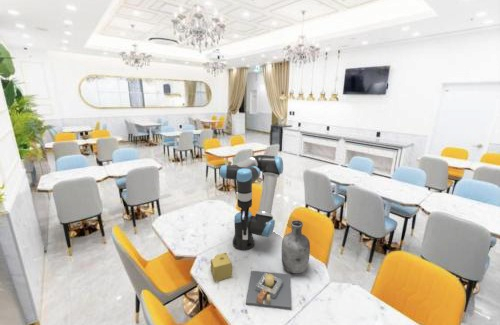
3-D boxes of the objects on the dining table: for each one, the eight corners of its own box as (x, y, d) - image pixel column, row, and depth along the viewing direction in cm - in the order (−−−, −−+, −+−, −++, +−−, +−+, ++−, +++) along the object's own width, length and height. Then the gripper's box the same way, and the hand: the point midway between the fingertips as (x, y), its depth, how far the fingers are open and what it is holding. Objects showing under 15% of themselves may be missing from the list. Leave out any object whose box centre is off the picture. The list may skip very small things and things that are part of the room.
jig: (251, 272, 135) (251, 261, 133) (289, 276, 132) (290, 264, 130) (245, 304, 114) (245, 291, 112) (291, 309, 111) (291, 296, 109)
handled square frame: (264, 276, 130) (264, 272, 129) (283, 283, 124) (283, 279, 124) (249, 298, 116) (249, 294, 115) (269, 307, 110) (269, 303, 110)
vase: (275, 267, 139) (276, 222, 131) (292, 255, 149) (294, 213, 141) (296, 282, 128) (299, 234, 120) (313, 269, 137) (317, 223, 130)
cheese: (210, 270, 137) (209, 255, 135) (228, 265, 141) (227, 251, 138) (214, 283, 128) (213, 267, 125) (233, 277, 132) (232, 262, 129)
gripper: (239, 193, 126) (240, 231, 133) (235, 203, 114) (236, 245, 120) (253, 194, 125) (253, 232, 132) (250, 204, 113) (250, 246, 119)
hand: (245, 238), depth 126 cm, fingers closed
